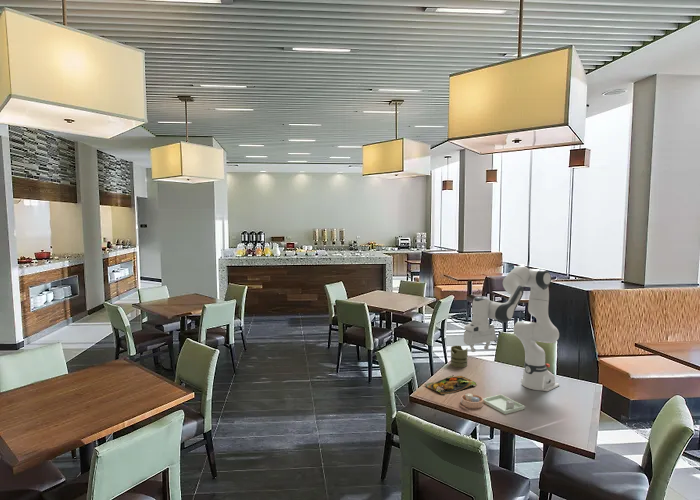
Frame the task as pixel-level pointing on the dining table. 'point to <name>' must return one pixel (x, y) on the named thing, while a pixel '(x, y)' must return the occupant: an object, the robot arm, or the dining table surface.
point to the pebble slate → (475, 399)
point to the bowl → (472, 404)
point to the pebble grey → (509, 404)
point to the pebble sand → (468, 397)
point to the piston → (459, 356)
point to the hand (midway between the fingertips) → (479, 350)
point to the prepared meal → (451, 384)
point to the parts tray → (502, 403)
